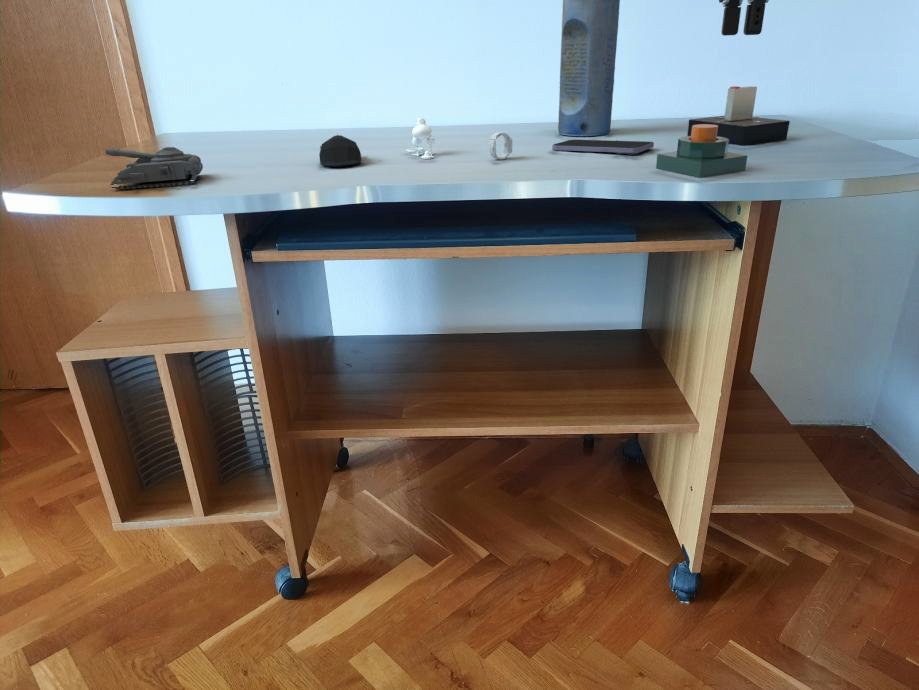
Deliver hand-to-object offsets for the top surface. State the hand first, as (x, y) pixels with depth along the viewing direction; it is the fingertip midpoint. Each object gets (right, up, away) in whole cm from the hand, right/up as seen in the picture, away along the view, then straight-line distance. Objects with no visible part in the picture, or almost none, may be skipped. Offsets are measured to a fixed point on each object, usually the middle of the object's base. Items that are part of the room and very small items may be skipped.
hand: (740, 35), depth 92 cm
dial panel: (+6, -10, +16) cm, 20 cm away
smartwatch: (-34, -16, +7) cm, 38 cm away
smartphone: (-17, -13, +11) cm, 25 cm away
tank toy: (-83, -21, 0) cm, 86 cm away
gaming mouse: (-59, -15, +11) cm, 62 cm away
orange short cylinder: (-8, -18, -8) cm, 21 cm away
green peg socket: (-8, -21, -6) cm, 23 cm away
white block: (+6, -7, +15) cm, 17 cm away
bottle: (-17, -5, +28) cm, 33 cm away
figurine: (-46, -13, +14) cm, 50 cm away
